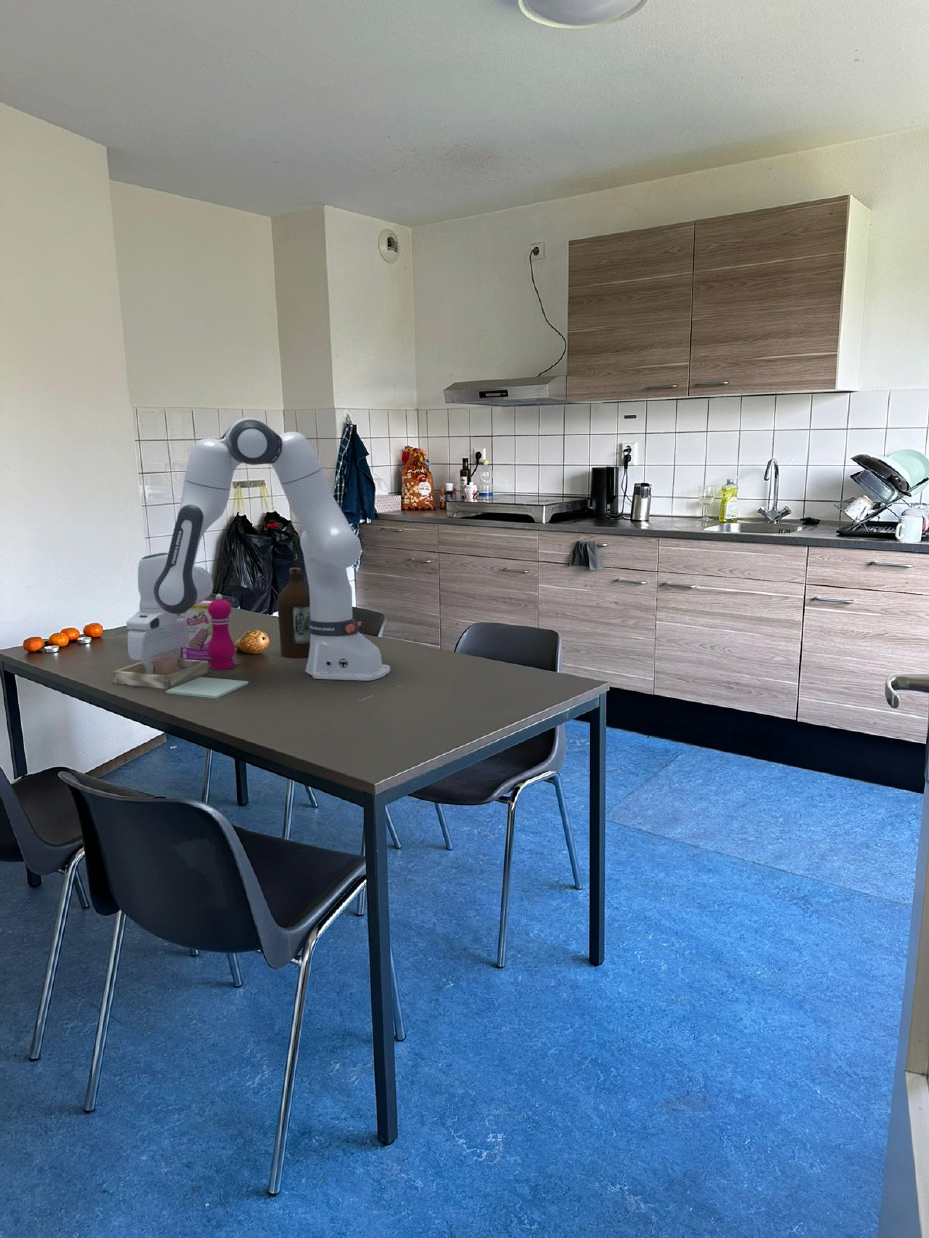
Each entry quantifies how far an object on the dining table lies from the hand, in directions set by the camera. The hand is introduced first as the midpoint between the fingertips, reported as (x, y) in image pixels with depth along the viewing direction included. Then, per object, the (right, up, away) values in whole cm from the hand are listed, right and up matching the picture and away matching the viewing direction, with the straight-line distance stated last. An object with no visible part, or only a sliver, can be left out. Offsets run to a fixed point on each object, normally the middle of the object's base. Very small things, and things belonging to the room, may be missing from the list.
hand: (161, 669), depth 222 cm
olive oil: (+30, +3, +27) cm, 40 cm away
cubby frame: (0, -2, 0) cm, 2 cm away
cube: (0, -2, 0) cm, 2 cm away
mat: (+15, -4, -9) cm, 18 cm away
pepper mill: (+12, 0, +12) cm, 17 cm away
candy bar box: (+4, +2, +21) cm, 21 cm away
